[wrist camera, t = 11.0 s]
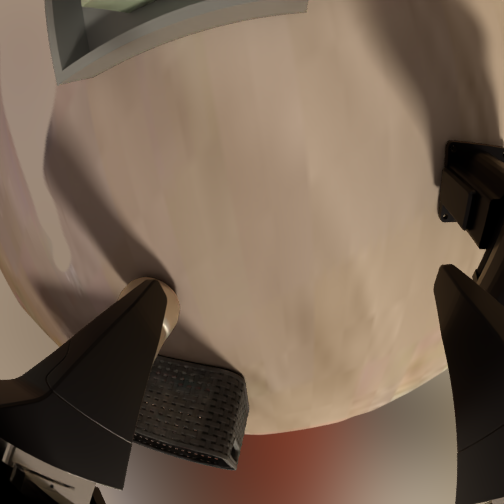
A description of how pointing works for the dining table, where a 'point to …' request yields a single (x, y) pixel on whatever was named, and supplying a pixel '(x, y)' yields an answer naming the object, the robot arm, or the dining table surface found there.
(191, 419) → the storage bin
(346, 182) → the dining table surface
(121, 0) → the small crate
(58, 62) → the large crate
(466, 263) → the dining table surface
